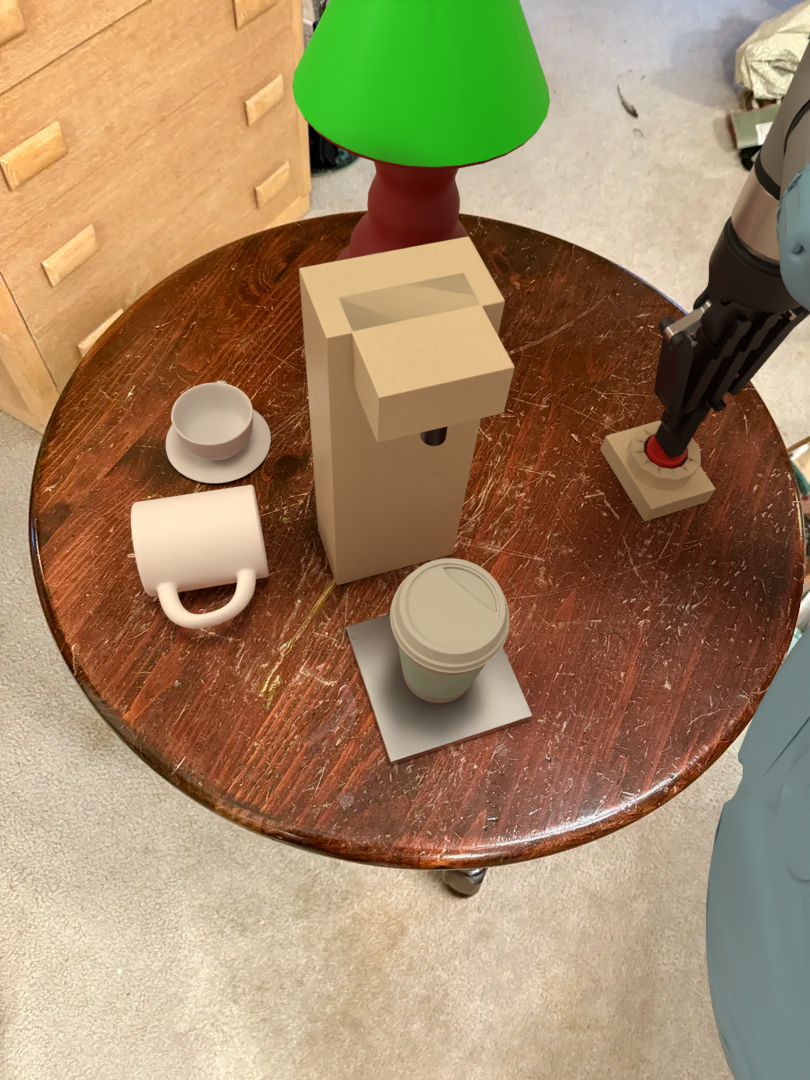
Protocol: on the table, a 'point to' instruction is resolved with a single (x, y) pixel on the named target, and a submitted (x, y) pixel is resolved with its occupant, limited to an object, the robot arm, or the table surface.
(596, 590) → the table surface
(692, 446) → the control block
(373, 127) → the table lamp
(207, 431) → the teacup
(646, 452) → the red push button
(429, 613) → the coffee cup
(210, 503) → the mug
